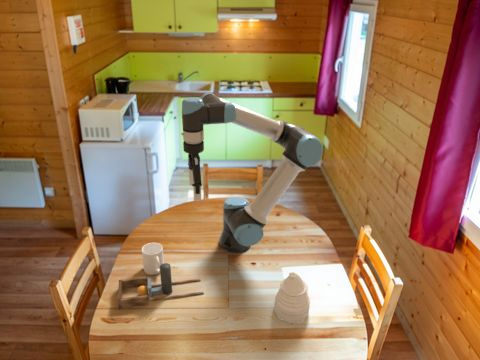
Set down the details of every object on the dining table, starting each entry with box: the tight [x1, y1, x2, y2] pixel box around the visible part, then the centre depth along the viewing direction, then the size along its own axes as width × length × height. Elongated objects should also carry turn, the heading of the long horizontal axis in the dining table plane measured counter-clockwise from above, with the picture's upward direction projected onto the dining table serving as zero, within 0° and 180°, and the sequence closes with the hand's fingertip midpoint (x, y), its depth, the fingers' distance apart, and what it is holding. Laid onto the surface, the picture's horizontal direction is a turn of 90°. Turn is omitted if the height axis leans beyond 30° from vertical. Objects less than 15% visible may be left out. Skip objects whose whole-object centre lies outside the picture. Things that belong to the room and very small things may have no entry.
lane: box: [149, 278, 204, 303], centre depth 157 cm, size 21×9×1 cm, turn 103°
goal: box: [117, 276, 150, 310], centre depth 153 cm, size 11×12×4 cm
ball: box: [136, 286, 148, 296], centre depth 154 cm, size 4×4×4 cm
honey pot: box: [273, 272, 311, 324], centre depth 145 cm, size 13×13×18 cm
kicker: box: [147, 262, 173, 298], centre depth 153 cm, size 9×6×12 cm, turn 103°
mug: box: [141, 242, 165, 276], centre depth 166 cm, size 9×12×11 cm
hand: (195, 192), depth 154 cm, fingers open, 13 cm apart
